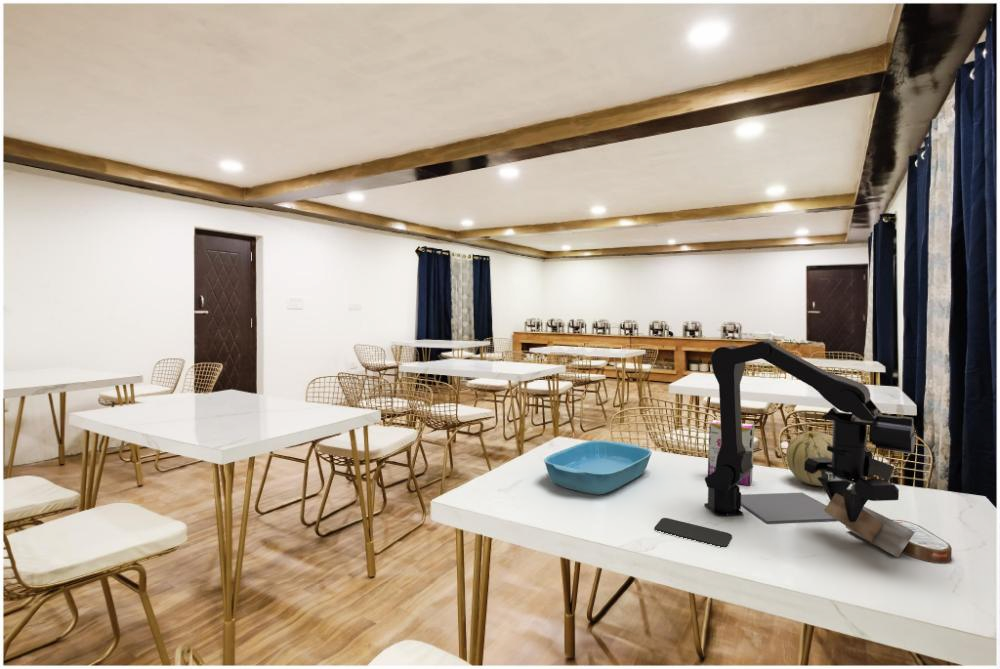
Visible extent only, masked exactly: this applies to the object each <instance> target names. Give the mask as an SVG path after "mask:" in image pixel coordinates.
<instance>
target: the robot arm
mask: <svg viewBox="0 0 1000 669" xmlns="http://www.w3.org/2000/svg"><path fill="white" fill-rule="evenodd" d="M757 360H763V361H766V362H767V363H770V364H771V365H773V366H775V368H778V369H780V370H781V371H784V372H785V373H787V374H788V375H790V376H792V377H793V378H796V379H797V380H799V381H801V382H803V383H805V384H806V385H808V386H810V387H812V388H813V389H814V390H815V391H817V393H819V394H820V395H821V397H822V398H823V399H825V401H826V402H828V403H829V404H831V405H832V406H833V407H831V408H830V409H829V410H828V411H827V412H826V413H825V414H823V415H822V416H821V419H823V420H828V421H832V436H833V442H832V446H827V450H828V451H830V452H832V459H830V458H827V457H823V458H808V459H807V460H806V461H805V465H804V470H805V471H807V472H809V473H812V474H815V473H816V472H817V471H818V470H820V471H821V477H818V480H819V481H820V482H821V484H822V486H821V487H823V489H824V491H825V493H826V495H827V497H828V498H829V501H830V500H831V499H832V497H833V496H834V495H835V493H837V494H839V495H841V496H843V497H844V501H845V506H846V510H847V515H848V518H849V521H850V522H856V520H857V518H858V516H859V514H860V512H861V511H862V509H863V507H865V505H866V503H867V502H868V501H870V502H871V501H872V502H883V501H884V502H885V501H899V498H900V497H899V496H900V495H899V494H900V493H899V492H900V489H899V488H898V487H897V486H896V484H894V483H891V482H890V480H891V478H892V475H893V472H894V469H895V466H894V465H891V464H888V463H886V462H882V461H880V460H878V459H875V458H874V457H873V456H874V454H873V452H872V451H871V450H868V449H867V435H868V440H869V443H871V444H872V446H873V445H874V446H875V448H876V449H879V450H880V449H881V450H886V451H893V452H899V453H903V454H911V455H912V454H914V452H915V444H916V432H915V425H914V418H913V416H912V417H909V416H894V415H886V414H883V413H882V411H881V410H880V408H878V407H877V405H876V404H875V403H874V401H872V399H871V392H870V390H869V388H868V386H866V385H865V384H864V383H862V382H860V381H857V380H854V379H852V378H848V377H845V376H843V375H839V374H835V373H832V372H829V371H826V370H824V369H822V368H820V367H818V366H816V365H814V364H812V363H811V362H809V361H807V360H806V359H804V358H802V357H800V356H798V355H796V354H794V353H793V352H791V351H788V350H787V349H785V348H783V347H782V346H780V345H778V344H776V343H775V342H774V341H772V340H762V341H758V342H757V343H752V344H748V345H743V346H738V345H727V346H720V347H717V348H715V349H714V350H713V352H712V353H711V355H710V363H711V367H712V373H713V375H714V377H715V379H716V381H717V383H718V391H719V392H718V393H719V394H718V396H719V416H720V418H719V419H720V421H721V447H720V450H719V452H718V455H717V460H716V467H715V471H714V472H713V473H711V474H710V475H709V476H708V475H707V476H705V478H704V481H705V484H706V487H707V502H706V503H704V507H706V509H708V510H709V511H710V512H712V513H714V514H715V516H719V517H720V516H721V517H722V516H723V517H724V516H742V515H743V514H744V512H743V511H741V509H742V506H741V495H742V492H741V491H740V490H741V489H740V488H741V487H740V486H739V485H740V484H739V483H740V482H741V480H742V479H743V478H745V477H746V476H748V474H749V473H750V469H752V468H754V465H752V461H751V459H752V451H746V450H745V448H744V446H743V443H742V424H741V423H742V406H741V404H742V403H741V402H742V401H741V383H742V382H741V381H742V379H743V375H744V373H745V369H746V363H747V362H752V361H757ZM868 426H869V431H868ZM875 476H877V477H880V478H874V477H875ZM867 478H868V479H867ZM869 478H870V479H869ZM871 478H872V479H871ZM881 478H883V479H881ZM850 485H851V486H850ZM849 487H850V489H848V488H849Z"/></svg>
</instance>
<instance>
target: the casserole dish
mask: <svg viewBox="0 0 1000 669" xmlns="http://www.w3.org/2000/svg"><path fill="white" fill-rule="evenodd" d="M652 453H653V452H652V450H650V449H649V448H646V447H642V446H640V445H637V444H633V443H629V442H624V441H623V442H622V441H613V440H612V441H611V440H597V439H596V440H587V441H585V442H581V443H578V444H576V445H572V446H569V447H567V448H565V449H562V450H560V451H557V452H554V453H552V454H550V455H548V456H546V457H545V458H544V463H545V467H546V470H547V473H548V476H549V479H550V480H551V481H552V482H553V483H554V484H555V485H557V486H560V487H562V488H565V489H569V490H575V491H577V492H582V493H585V494H589V495H597V496H599V495H605V494H608V493H610V492H613V491H615V490H617V489H618V488H620V487H622V486H624V485H625V484H627V483H630V482H631V481H633V480H635V479H636V478H638V477H639V476H641V475H643V473H644V472H645V471H646V469H647V467H648V464H649V461H650V459H651V456H652Z"/></svg>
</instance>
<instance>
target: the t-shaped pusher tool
mask: <svg viewBox="0 0 1000 669" xmlns="http://www.w3.org/2000/svg"><path fill="white" fill-rule="evenodd" d="M824 511H825V512H826V513H827V514H829V515H830V516H832V517H833V518H835V519H836V520H838V521H837V522H839V523H841V524H843V526H845V528H846V529H847V530H848V531H850V532H852V533H854V534H855V535H856V536H859V537H861V538H863V539H864V540H866V541H867V542H869V543H871V544H872V545H874V546H876V547H878V548H879V549H881V550H883V551H885V552H886V553H888V554H890V555H892V556H894V557H895V558H899V557H900V555H901V554H902V553H903V552H902V551H903V549H904V548H905V546H906V545H907V543H908V542H909V540H910V539H911V537H912V536H913V534H914V533H915V532H913V531H912V530H910V529H909V528H907V527H905V526H903V525H901V524H899V523H897V522H895V521H893V520H894V519H892V518H891V519H890V518H889V517H887V516H884V515H883V514H881V513H879V512H877V511H875V510H872V509H871V508H869V507H866V506H864V507H863V509H862V511H861V512H860V514H859V516H858V518H857V520H856V522H850V521H849V518H848V515H847V510H846V506H845V501H844V497H843V496H841V495H839V494H837V493H835V495H834V496H833V497H832V499H831V500H830V499H829V502H828V504H827V506H826V508H825V509H824Z"/></svg>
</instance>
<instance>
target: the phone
mask: <svg viewBox="0 0 1000 669" xmlns="http://www.w3.org/2000/svg"><path fill="white" fill-rule="evenodd" d="M655 530H657V531H661V532H664V533H668V534H672V535H676V536H679V537H678V538H680V537H683V538H682V539H684V538H687V539H686V540H688V539H691V540H690V541H692V540H696V541H699V542H698V543H700V542H704V543H707V544H706V545H708V544H712V545H715V546H714V547H716V546H720V547H719V548H721V547H727V546H729V545H730V543H731V541H732V539H733V535H732V534H731V533H729V532H727V531H722V530H719V529H715V528H710V527H705V526H702V525H699V524H698V525H697V524H693V523H689V522H685V521H681V520H677V519H673V518H668V517H662V518H661V519H660V520H658V522H657V523H656V525H655V526H654V531H655ZM657 531H656V532H657ZM664 533H663V534H664ZM668 534H667V535H668ZM672 535H671V536H672ZM676 536H675V537H676ZM730 540H731V541H730ZM696 541H695V542H696ZM729 542H730V543H729ZM704 543H703V544H704ZM728 544H729V545H728ZM712 545H711V546H712ZM727 548H728V547H727Z"/></svg>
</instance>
